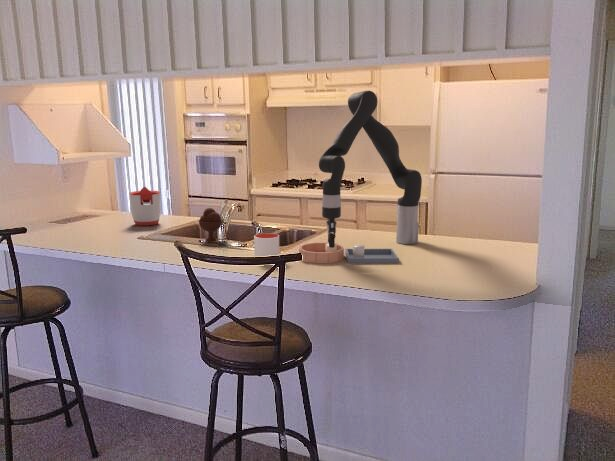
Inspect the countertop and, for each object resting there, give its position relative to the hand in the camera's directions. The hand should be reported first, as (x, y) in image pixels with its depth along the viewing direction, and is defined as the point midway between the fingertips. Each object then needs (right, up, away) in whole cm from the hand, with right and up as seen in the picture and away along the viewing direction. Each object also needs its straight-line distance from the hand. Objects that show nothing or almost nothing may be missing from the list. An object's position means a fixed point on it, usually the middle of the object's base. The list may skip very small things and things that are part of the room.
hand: (331, 244), depth 228 cm
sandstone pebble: (0, -5, +1) cm, 5 cm away
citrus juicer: (-95, +9, +70) cm, 118 cm away
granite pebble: (+11, -5, -1) cm, 12 cm away
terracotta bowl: (-4, -5, +1) cm, 7 cm away
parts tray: (+16, -6, -1) cm, 17 cm away
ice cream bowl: (-54, +1, +33) cm, 64 cm away
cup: (-26, -6, -1) cm, 27 cm away
